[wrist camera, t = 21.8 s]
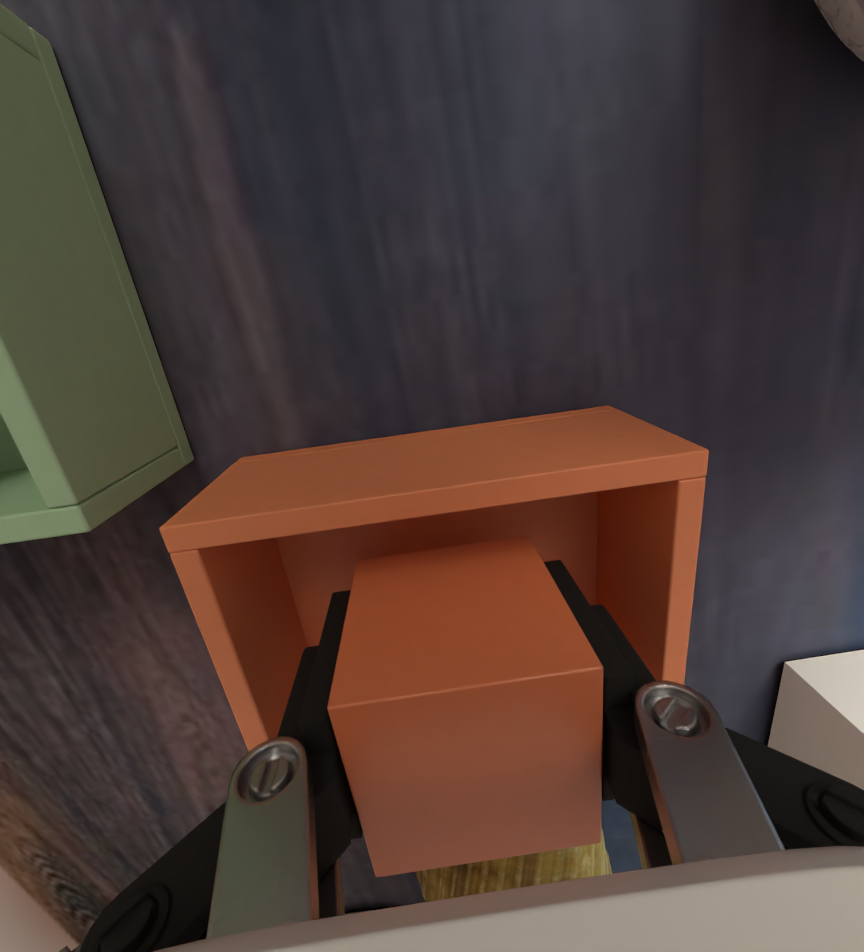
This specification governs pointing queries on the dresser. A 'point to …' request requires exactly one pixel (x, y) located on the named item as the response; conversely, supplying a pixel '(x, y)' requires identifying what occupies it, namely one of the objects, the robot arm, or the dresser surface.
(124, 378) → the green bin
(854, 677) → the white rectangular cuboid
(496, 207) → the dresser surface
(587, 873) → the seashell
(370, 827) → the block
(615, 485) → the terracotta bin
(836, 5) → the planter
